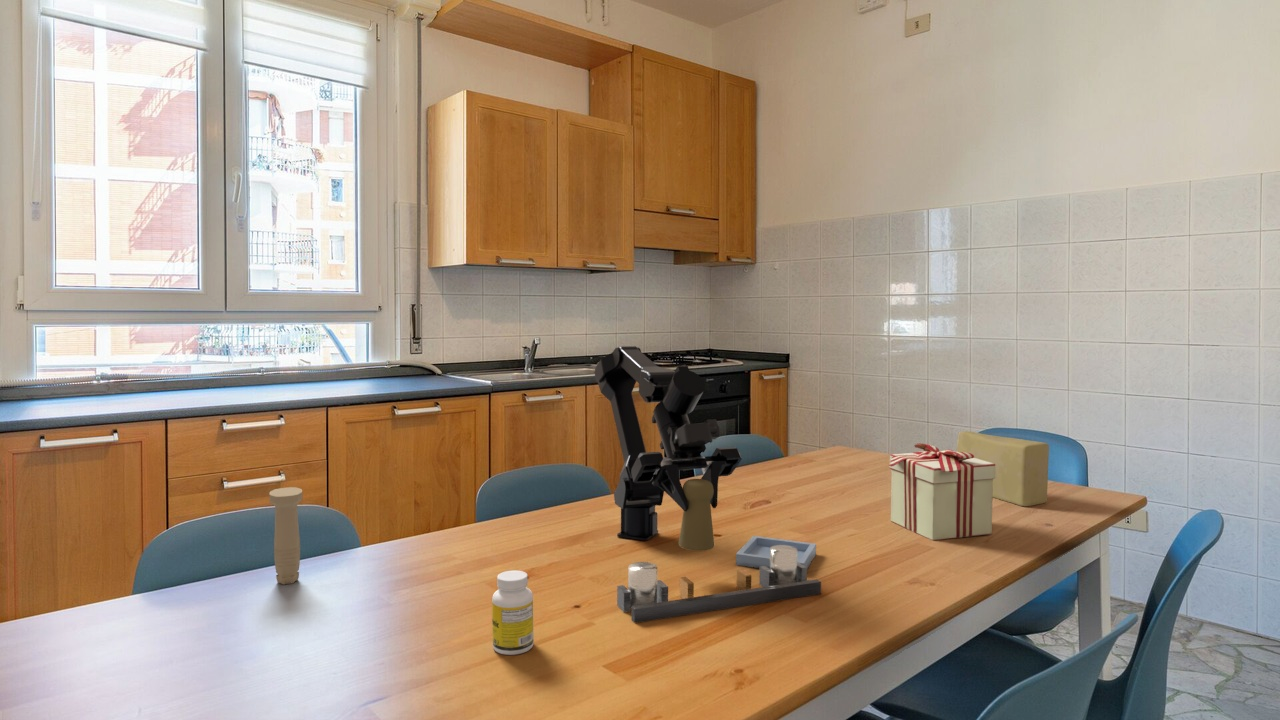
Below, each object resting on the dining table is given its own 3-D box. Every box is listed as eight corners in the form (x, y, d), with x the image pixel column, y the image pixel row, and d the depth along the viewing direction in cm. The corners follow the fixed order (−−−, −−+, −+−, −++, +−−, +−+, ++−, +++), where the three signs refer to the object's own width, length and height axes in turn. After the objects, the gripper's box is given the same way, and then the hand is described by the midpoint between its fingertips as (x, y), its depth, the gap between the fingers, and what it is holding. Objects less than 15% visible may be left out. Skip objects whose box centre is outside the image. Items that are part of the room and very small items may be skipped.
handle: (271, 590, 118) (269, 497, 118) (271, 577, 124) (269, 489, 123) (305, 585, 121) (303, 494, 120) (302, 573, 126) (301, 486, 125)
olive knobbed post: (712, 552, 121) (714, 486, 120) (675, 548, 122) (677, 483, 121) (716, 540, 127) (718, 477, 126) (681, 537, 128) (682, 474, 127)
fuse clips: (615, 603, 114) (615, 565, 114) (794, 577, 126) (794, 542, 126) (633, 623, 107) (634, 582, 107) (821, 593, 119) (822, 557, 119)
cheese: (943, 488, 193) (945, 431, 192) (967, 484, 198) (969, 428, 197) (1024, 508, 174) (1026, 444, 173) (1048, 503, 178) (1051, 441, 177)
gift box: (873, 523, 160) (875, 443, 159) (941, 515, 167) (943, 439, 165) (930, 546, 144) (932, 458, 143) (1002, 537, 151) (1005, 453, 150)
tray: (735, 564, 132) (735, 553, 132) (753, 545, 143) (753, 535, 143) (803, 574, 128) (803, 563, 127) (816, 554, 139) (816, 543, 138)
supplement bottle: (494, 638, 102) (494, 568, 101) (534, 637, 102) (534, 567, 101) (490, 657, 96) (489, 583, 96) (532, 655, 97) (532, 582, 96)
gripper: (638, 405, 122) (663, 488, 113) (738, 401, 129) (769, 479, 120) (621, 442, 130) (643, 522, 121) (716, 437, 137) (743, 512, 128)
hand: (701, 508), depth 123 cm, fingers closed on olive knobbed post, 5 cm apart
